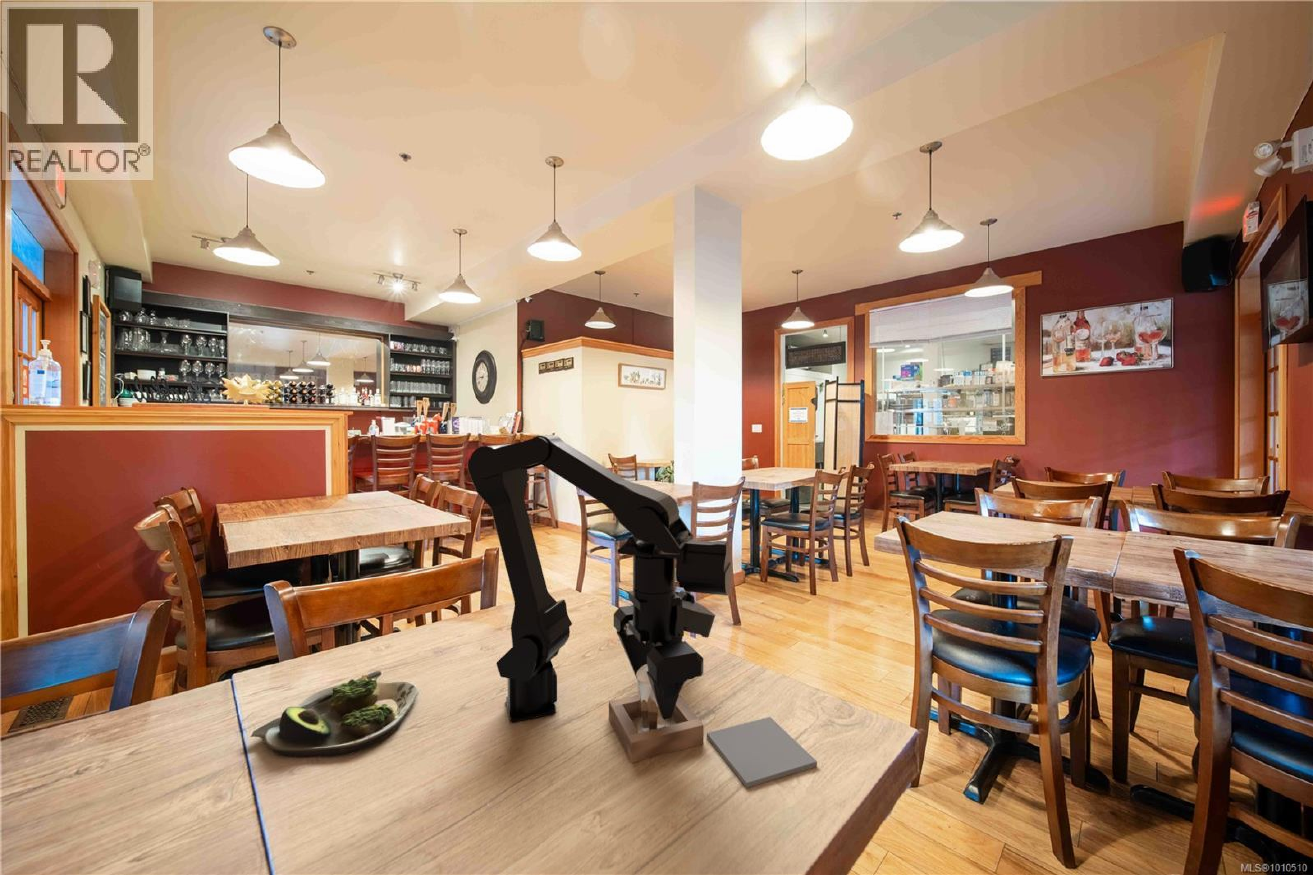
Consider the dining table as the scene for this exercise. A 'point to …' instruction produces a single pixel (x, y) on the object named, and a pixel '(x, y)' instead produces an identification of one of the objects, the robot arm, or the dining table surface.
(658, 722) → the milkshake
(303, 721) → the salad plate
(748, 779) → the mat
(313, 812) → the dining table surface
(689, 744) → the collar
